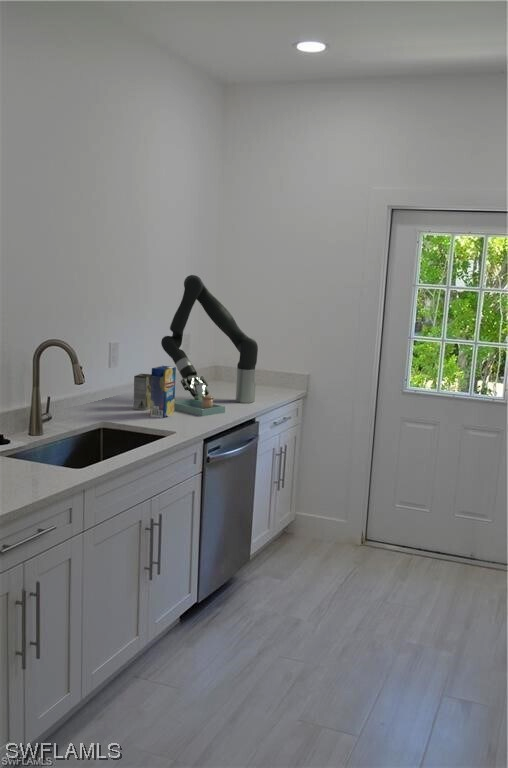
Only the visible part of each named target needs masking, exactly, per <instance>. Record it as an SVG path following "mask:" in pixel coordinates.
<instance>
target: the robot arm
mask: <svg viewBox="0 0 508 768" xmlns="http://www.w3.org/2000/svg"><path fill="white" fill-rule="evenodd" d="M183 287H184V290H183V294H182V298H181V301H180V303H179V306H178V307H177V310H176V311H175V313H174V316H173V318H172V320H171V323H170V327H169V329H170V332H172V335H164V336H163V337H162V338H161V343H160V344H161V348H162V349H163V350H164V352H165V353H166V354H167V355H168V356H169V357H170V358H171V359H172V361H173V362H174V365H175V367H176V370H177V371H178V373H179V374H180V377H181V378H182V379H181V380H180V383H181V385H182V387H183V388H184V391H188V392H189V394H190V395H191V397H193V398H194V397H195V396H196V395H197V394H196V392H195V384H205V385H206V389H205V395H209V393H210V392H209V390H208V388H207V387H208V386H209V384H208V382H207V381H206V379H205V377H204V376H203V375H201V376H198V372H197V370H196V368H195V366H194V365H193V363H192V362H191V360H190V359H189V358H188V356H187V354H186V353H185V351H184V350H183V349H181V346H182V343H183V336H184V330H185V327H186V325H187V323H188V319H189V317H190V314H191V311H192V309H193V306H194V305H195V303H196V301H198V303H199V304H200V306H201V307H202V308H203V310H204V311H205V313H206V315H207V316H208V317H209V319H210V320H211V321H212V322H213V323H214V325H216V326H217V327H218V329H220V331H221V332H222V333H224V334H225V335H226V337H228V338H229V340H230V341H231V342H232V344H233V346H235V348H236V350H237V351H238V352H239V360H238V362H237V364H236V365H237V368H236V385H235V386H236V389H235V402H236V403H241V404H250V403H251V404H252V403H254V402H255V398H256V397H255V396H256V382H255V379H256V378H255V377H256V375H255V374H256V366H257V362H258V354H259V353H258V352H259V351H258V350H259V349H258V348H259V347H258V343H257V341H256V340H255V339H253V338H252V337H251V338H250V337H249V336H247V335H246V333H245V332H243V331H242V329H240V327H239V326H238V324H237V321H235V319H234V317H233V315H232V314H231V312H230V311H229V310H228V309H227V308H226V307H225V306H224V304H222V303H221V302H220V300H218V299H217V298H216V297H215V296H214V295H213V294H212V293H211V292H210V290H209V289H208V288H207V286H206V285H205V284H204V282H203V281H202V279H201V278H200V277H199V276H198V275H195V274H190V275H188V276H186V278H185V279H184V281H183Z"/></svg>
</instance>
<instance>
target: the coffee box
mask: <svg viewBox="0 0 508 768" xmlns="http://www.w3.org/2000/svg"><path fill="white" fill-rule="evenodd" d="M151 376H152V373H151V374H150V373H149V374H148V373H139V374H136V375H134V377H133V378H134V379H133V407H132V408H133V410H135V409H139V410H138V411H147V410H150V405H151Z"/></svg>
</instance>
